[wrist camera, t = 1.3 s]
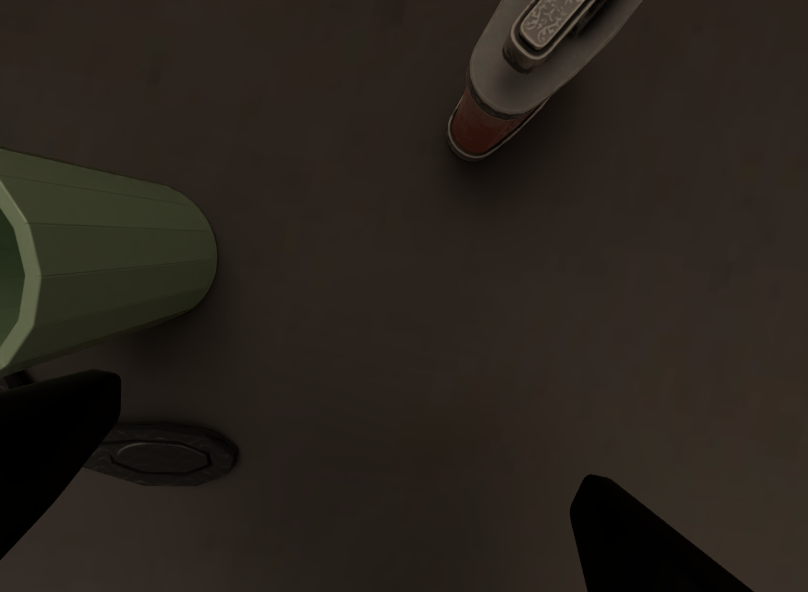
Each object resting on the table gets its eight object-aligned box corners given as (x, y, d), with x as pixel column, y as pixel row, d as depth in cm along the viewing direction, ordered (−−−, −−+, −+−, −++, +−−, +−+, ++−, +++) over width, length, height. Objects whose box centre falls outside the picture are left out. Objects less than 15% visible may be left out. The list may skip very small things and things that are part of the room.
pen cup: (245, 242, 20) (89, 244, 10) (167, 346, 21) (-46, 441, 11) (129, 151, 20) (-155, 60, 10) (54, 262, 20) (-278, 283, 11)
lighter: (543, -3, 18) (701, -286, 8) (593, 48, 19) (802, -169, 9) (430, 130, 19) (453, 16, 9) (480, 177, 20) (553, 112, 10)
